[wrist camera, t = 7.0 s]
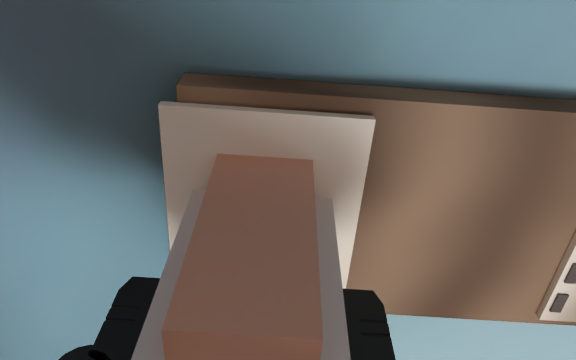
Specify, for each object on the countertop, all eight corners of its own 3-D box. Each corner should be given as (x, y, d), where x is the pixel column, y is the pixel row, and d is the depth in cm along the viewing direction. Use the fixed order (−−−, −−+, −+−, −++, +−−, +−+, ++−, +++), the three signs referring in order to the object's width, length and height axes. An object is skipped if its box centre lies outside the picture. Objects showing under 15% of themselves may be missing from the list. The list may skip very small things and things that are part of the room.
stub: (175, 294, 18) (111, 500, 12) (160, 101, 14) (50, 261, 8) (341, 304, 18) (364, 513, 12) (374, 116, 14) (435, 286, 8)
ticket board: (195, 280, 20) (187, 309, 18) (184, 72, 15) (173, 89, 14) (685, 311, 20) (713, 341, 19) (823, 117, 15) (875, 138, 14)
